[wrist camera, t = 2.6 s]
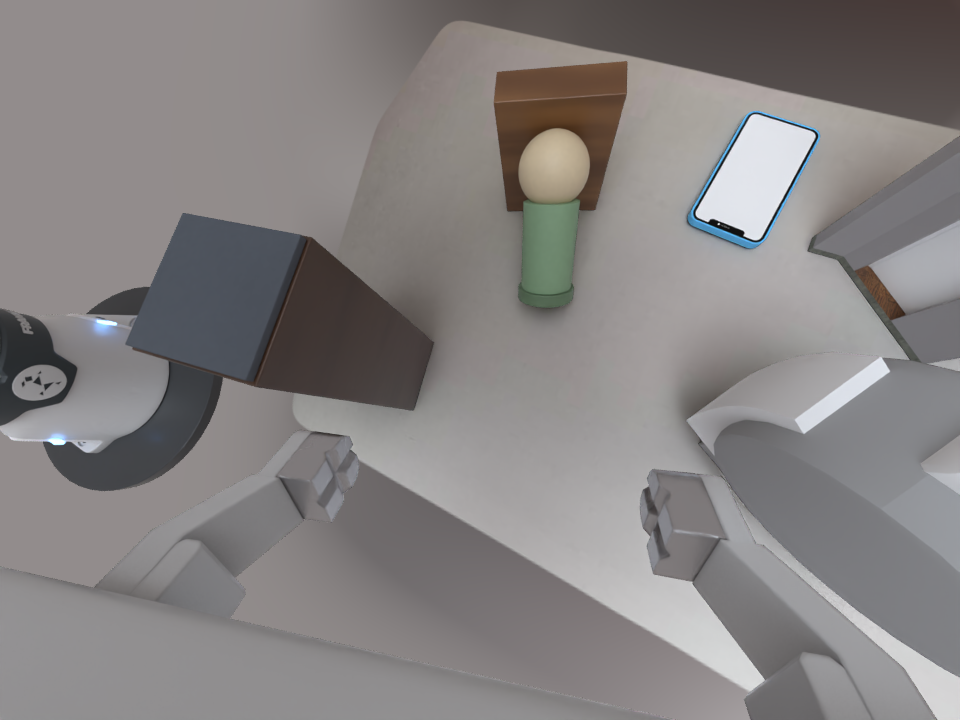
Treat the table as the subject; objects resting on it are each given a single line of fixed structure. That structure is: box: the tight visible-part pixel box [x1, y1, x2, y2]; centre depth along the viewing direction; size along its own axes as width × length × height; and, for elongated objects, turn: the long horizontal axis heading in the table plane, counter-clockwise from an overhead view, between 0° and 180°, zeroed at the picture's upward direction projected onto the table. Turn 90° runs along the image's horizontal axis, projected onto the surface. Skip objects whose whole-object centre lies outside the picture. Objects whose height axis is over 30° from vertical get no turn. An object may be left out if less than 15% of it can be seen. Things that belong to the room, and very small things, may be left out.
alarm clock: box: [686, 352, 960, 677], centre depth 22 cm, size 18×8×20 cm, turn 36°
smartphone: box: [688, 111, 820, 248], centre depth 36 cm, size 8×1×15 cm
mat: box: [125, 213, 306, 382], centre depth 18 cm, size 8×8×1 cm
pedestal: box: [132, 236, 434, 411], centre depth 28 cm, size 8×8×22 cm
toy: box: [518, 128, 590, 308], centre depth 32 cm, size 13×6×13 cm, turn 175°
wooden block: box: [494, 61, 627, 211], centre depth 33 cm, size 3×10×14 cm, turn 85°
